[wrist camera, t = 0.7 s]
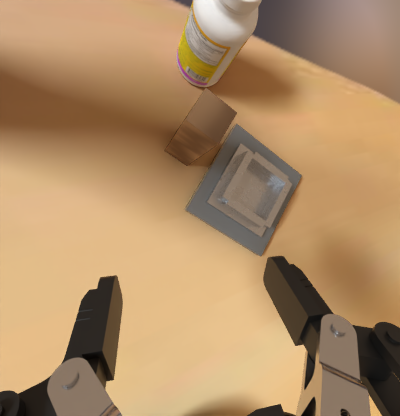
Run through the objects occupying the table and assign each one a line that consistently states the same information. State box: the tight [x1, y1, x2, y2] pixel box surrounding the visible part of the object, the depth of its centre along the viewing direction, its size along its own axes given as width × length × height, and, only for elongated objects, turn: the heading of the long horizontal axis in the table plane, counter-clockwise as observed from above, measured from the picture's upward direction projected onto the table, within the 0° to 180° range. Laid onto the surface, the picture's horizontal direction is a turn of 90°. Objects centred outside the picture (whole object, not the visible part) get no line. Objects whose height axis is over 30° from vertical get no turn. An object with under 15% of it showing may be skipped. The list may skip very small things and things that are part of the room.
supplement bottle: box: [177, 0, 262, 87], centre depth 25 cm, size 7×7×13 cm
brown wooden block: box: [165, 88, 237, 165], centre depth 25 cm, size 4×4×11 cm
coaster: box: [185, 124, 302, 256], centre depth 33 cm, size 13×14×1 cm
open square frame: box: [206, 143, 292, 237], centre depth 31 cm, size 10×10×3 cm
